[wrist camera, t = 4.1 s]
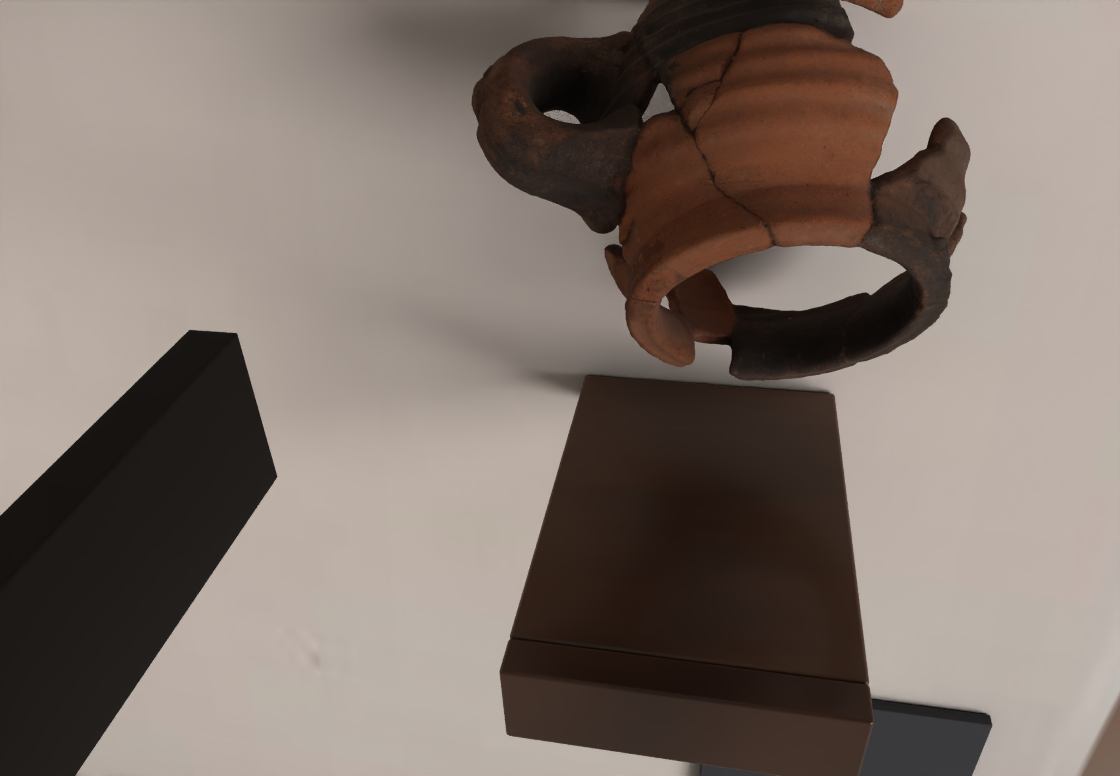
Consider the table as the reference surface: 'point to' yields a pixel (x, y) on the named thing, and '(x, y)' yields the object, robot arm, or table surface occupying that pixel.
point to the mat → (912, 743)
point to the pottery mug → (733, 172)
